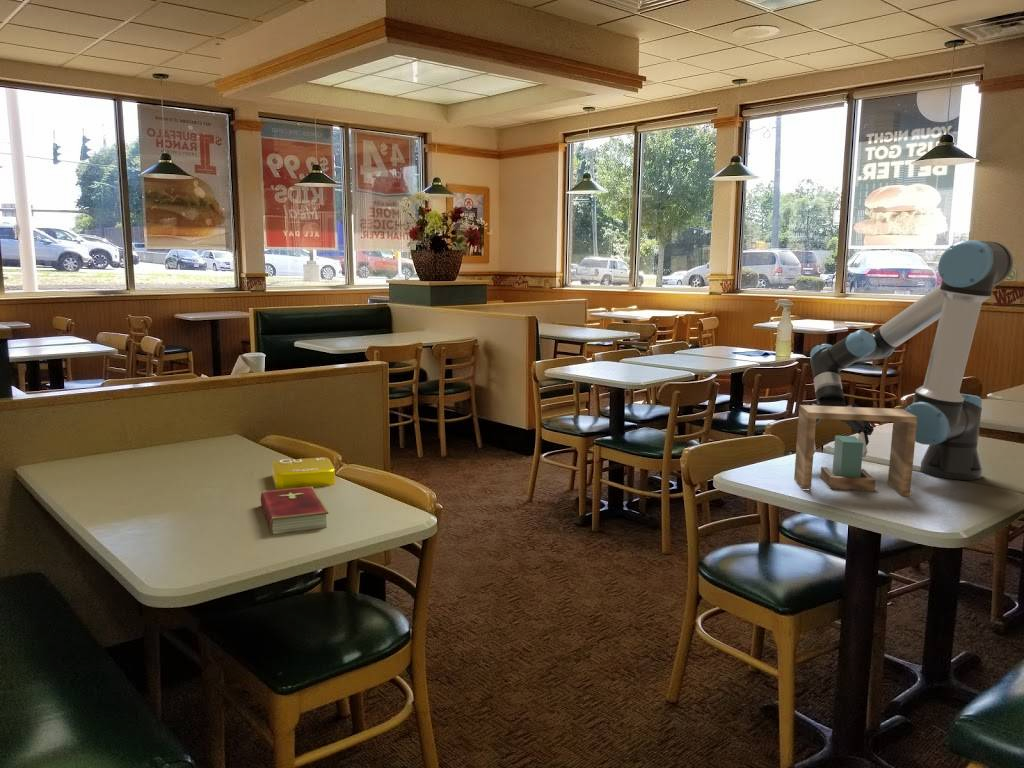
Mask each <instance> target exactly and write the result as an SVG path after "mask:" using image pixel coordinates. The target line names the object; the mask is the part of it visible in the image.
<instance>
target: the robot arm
mask: <svg viewBox="0 0 1024 768" xmlns="http://www.w3.org/2000/svg"><path fill="white" fill-rule="evenodd" d="M1013 266H1014V257H1013V255H1012V253H1011V251H1010V250H1009V249H1008V247H1006V246H1005V245H1003V244H1002V243H1000V242H996V241H990V240H989V241H988V240H987V241H986V240H977V239H974V240H973V239H969V240H962V241H958V242H956V243H954V244H952V245H950V246H949V247H947V249H945V251H943V253H942V254H941V256H940V258H939V260H938V266H937V271H938V275H939V276H940V278H941V283H940V284H939V285H938V286H936V287H935V288H933V289H932V290H930V291H929V292H927V293H926V294H925V295H923V296H922V297H921V298H919V299H918V300H916V301H915V302H914V303H912V304H911V305H909V306H908V307H906V308H905V309H904V310H902V311H901V312H899V313H898V314H897V315H895V316H893V317H892V318H891V319H890V320H888V321H887V322H885V323H884V324H883V325H881V326H880V327H878V328H877V329H876V330H874V331H872V332H869V331H866V330H865V329H859V330H856V331H854V332H851V333H849V335H847V336H846V337H844V338H842V339H841V340H839V341H838V342H836V343H835V344H833V345H832V344H829V343H822V344H820V345H819V344H818V345H817V344H816V346H814V347H813V348H812V349H811V351H810V354H809V357H810V361H809V362H810V363H809V364H810V366H811V371H812V376H813V379H812V380H813V384H814V385H813V386H814V392H815V399H816V404H815V403H813V402H812V401H807V404H806V405H813V406H838V407H859V405H858V404H857V403H852V404H851V405H850V404H849V405H847V404H846V402H845V401H846V400H845V396H844V391H843V384H842V379H841V378H842V377H841V371H842V370H845V369H846V368H848V367H849V366H851V365H852V364H854V363H857V362H862V361H869V360H870V361H871V360H882V359H885V358H888V357H889V356H891V355H892V354H893V353H894V350H895V349H897V347H899V346H900V345H902V344H903V343H905V342H906V341H908V340H909V339H911V338H913V337H914V336H915V335H917V334H918V333H920V332H921V331H922V330H924V329H926V328H927V327H929V326H931V325H932V324H934V323H935V322H936V321H938V324H937V328H936V332H935V336H934V339H933V344H932V348H931V352H930V356H929V360H928V366H927V368H926V372H925V378H924V381H923V385H921V386H920V387H918V388H916V389H915V392H914V395H913V401H912V403H911V404H910V405H908V406H907V407H906V408H905V409H904V410H905V411H907V412H909V413H911V414H913V415H915V416H917V426H916V437H915V443H917V444H920V445H924V446H925V445H927V446H928V447H927V449H926V451H925V453H924V455H923V458H922V459H921V461H920V468H919V469H920V471H922V472H923V473H924V474H927V475H930V476H933V477H938V478H944V479H949V480H960V481H972V480H973V481H974V480H979V479H981V478H982V474H983V467H982V463H981V459H980V457H979V452H978V443H979V434H980V425H981V417H982V411H983V407H982V406H983V405H982V402H983V400H982V398H981V397H980V396H978V395H973V394H965V393H960V390H961V387H962V383H963V382H962V381H963V379H964V375H965V372H966V371H965V370H966V366H967V365H968V359H969V356H970V351H971V348H972V345H973V344H972V343H973V341H974V340H973V339H974V335H975V332H976V328H977V325H978V320H979V316H980V313H981V308H982V304H983V303H984V302H985V301H987V300H988V299H990V298H991V297H992V295H993V289H994V288H995V287H997V286H998V285H1000V284H1001V283H1003V282H1004V281H1005V280H1006V279H1008V276H1010V274H1011V272H1012V270H1013ZM822 420H823V419H816V426H817V425H818V424H819V423H820V422H821V421H822ZM834 420H839V419H834ZM840 421H841V422H844V423H845V424H846V425H847V426H848V427H850V428H851V429H852V430H853V431H855V432H856V433H857V434H858V438H857V439H859V440H860V441H861V442H863V453H862V458H865V457H866V456H867V453H868V448H867V446H868V444H869V442H870V441H869V436H871V435H873V432H874V431H875V430H874V427H873V425H872V424H871V423H870V421H863V420H840ZM796 432H798V428H797V429H796ZM816 450H817V449H816V440H814V454H815V452H816ZM814 454H813V456H814Z"/></svg>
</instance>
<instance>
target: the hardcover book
mask: <svg viewBox="0 0 1024 768" xmlns="http://www.w3.org/2000/svg"><path fill="white" fill-rule="evenodd" d="M316 491H317V490H315V488H314V487H303V488H293V489H275V490H274V489H273V490H264V491H261V494H260V504H261V507H262V511H263V513H264V516H265V520H266V522H267V526H268V527H269V531H270V533H271V535H275V534H283V533H290V532H300V531H307V530H317V529H325V528H327V515H329V511H328V509H327V507H326V506H325V505H324V503H323V501H322V499H321V498H320V496H319V495H318V493H317V492H316Z"/></svg>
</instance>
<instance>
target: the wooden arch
mask: <svg viewBox="0 0 1024 768" xmlns="http://www.w3.org/2000/svg"><path fill="white" fill-rule="evenodd" d="M816 419H822V420H835V419H838V420H840V421H841V420H856V421H857V420H863V421H868V422H886V423H887V422H888V423H889V422H890V423H892V433H891V443H890V455H889V467H888V478H887V485H888V486H889V487H891V488H892V489H893V490H894V491H895V492H897V494H898V495H900V496H901V497H911V487H912V479H913V478H912V476H913V468H914V458H915V457H914V456H915V447H916V445H915V444H916V442H915V437H916V426H917V416H915V415H913V414H911V413H909V412H907V411H905V409H903V408H887V407H884V408H883V407H860V406H858V407H838V406H813V405H807V404H799V407H798V421H797V429H798V431H796V433H797V436H796V445H795V446H796V449H795V460H794V461H795V462H794V473H793V474H794V477H793V479H794V481H795V480H796V481H797V482H796V481H795V482H796V484H797V485H798V484H799V485H800V486H801V487H800V486H799V485H798V486H799V487H800V488H802V489H809V490H811V491H812V477H813V464H814V455H813V454H815V453H814V440H815V439H816V438H815V437H816V426H817V425H816ZM815 441H816V440H815ZM820 479H821V480H822V481H823V483H824V484H825V485H826V486H827V485H828V486H829V487H830V488H829V487H828V486H827V487H828V488H829V489H831V488H841V489H840V490H849V489H856V490H855V491H870V492H874V491H876V490H875V489H876V479H875V478H874V477H873V476H872V475H871V474H870V473H869V472H867V471H866V470H865V469H863V468H861V477H843V476H835V475H834V474H833V473H832V471H831V469H829V468H828V467H827V466H821V467H820ZM802 489H801V490H802Z"/></svg>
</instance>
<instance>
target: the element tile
mask: <svg viewBox="0 0 1024 768" xmlns="http://www.w3.org/2000/svg"><path fill="white" fill-rule="evenodd" d="M271 474H272V475H271V476H272V477H271V478H272V481H273V484H274V487H275V490H282V489H293V488H303V487H313V488H314V487H327V486H333V485H335V484H336V468H335V466H334V464H333V463H332V461H331V460H330V458H328V457H325V456H324V457H321V456H320V457H310V458H309V457H307V458H297V459H296V458H295V459H293V458H292V459H291V458H284V459H280V460H274V461H273V462H272V463H271Z"/></svg>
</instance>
